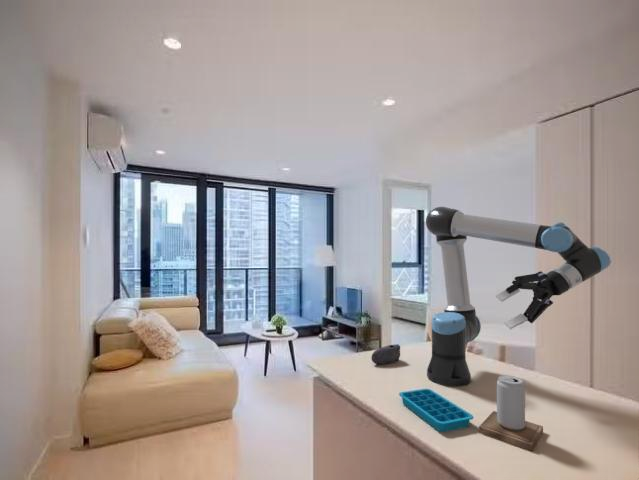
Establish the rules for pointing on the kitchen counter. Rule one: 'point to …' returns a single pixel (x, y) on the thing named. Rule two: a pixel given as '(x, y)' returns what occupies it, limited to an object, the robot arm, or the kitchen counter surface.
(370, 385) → the kitchen counter surface
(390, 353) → the perforated stone tool
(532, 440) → the walnut block
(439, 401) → the ice cube tray
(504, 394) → the beverage can
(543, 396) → the kitchen counter surface
